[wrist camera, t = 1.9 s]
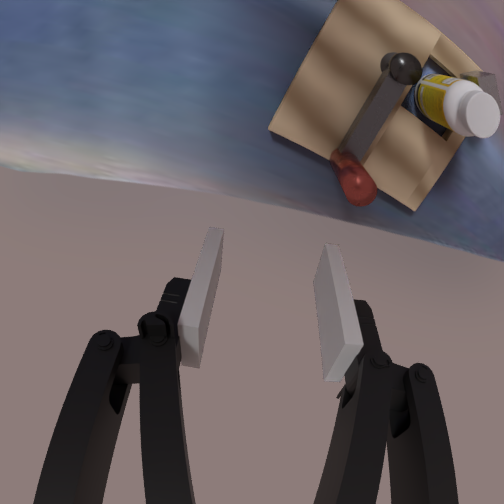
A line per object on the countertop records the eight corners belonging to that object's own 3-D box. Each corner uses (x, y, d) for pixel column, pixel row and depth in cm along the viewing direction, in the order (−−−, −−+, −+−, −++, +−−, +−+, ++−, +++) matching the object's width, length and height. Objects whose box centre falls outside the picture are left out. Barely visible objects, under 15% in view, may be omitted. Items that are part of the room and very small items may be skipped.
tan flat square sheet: (351, -24, 22) (356, -28, 20) (488, 82, 26) (496, 84, 24) (268, 126, 34) (267, 130, 32) (410, 205, 38) (415, 212, 36)
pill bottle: (437, 129, 31) (484, 158, 22) (404, 99, 30) (449, 118, 21) (461, 95, 28) (513, 115, 19) (428, 63, 27) (480, 71, 18)
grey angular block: (453, 72, 26) (477, 77, 22) (469, 69, 26) (494, 74, 21) (462, 108, 29) (485, 118, 24) (478, 104, 28) (502, 114, 24)
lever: (391, 46, 25) (427, 45, 17) (416, 64, 25) (457, 71, 18) (322, 162, 34) (336, 196, 26) (348, 176, 34) (368, 213, 27)
